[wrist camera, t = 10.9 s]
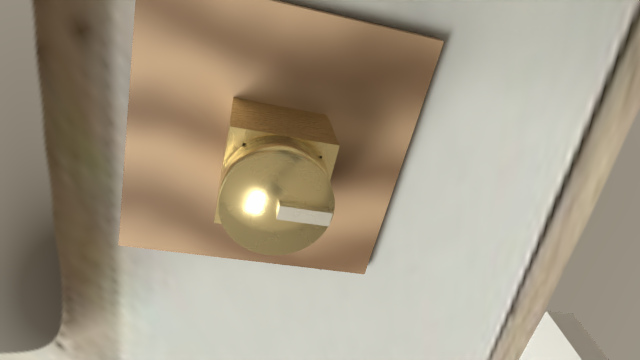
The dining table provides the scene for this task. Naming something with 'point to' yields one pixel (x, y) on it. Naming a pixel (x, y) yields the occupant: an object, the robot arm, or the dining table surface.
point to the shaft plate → (272, 88)
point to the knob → (276, 177)
